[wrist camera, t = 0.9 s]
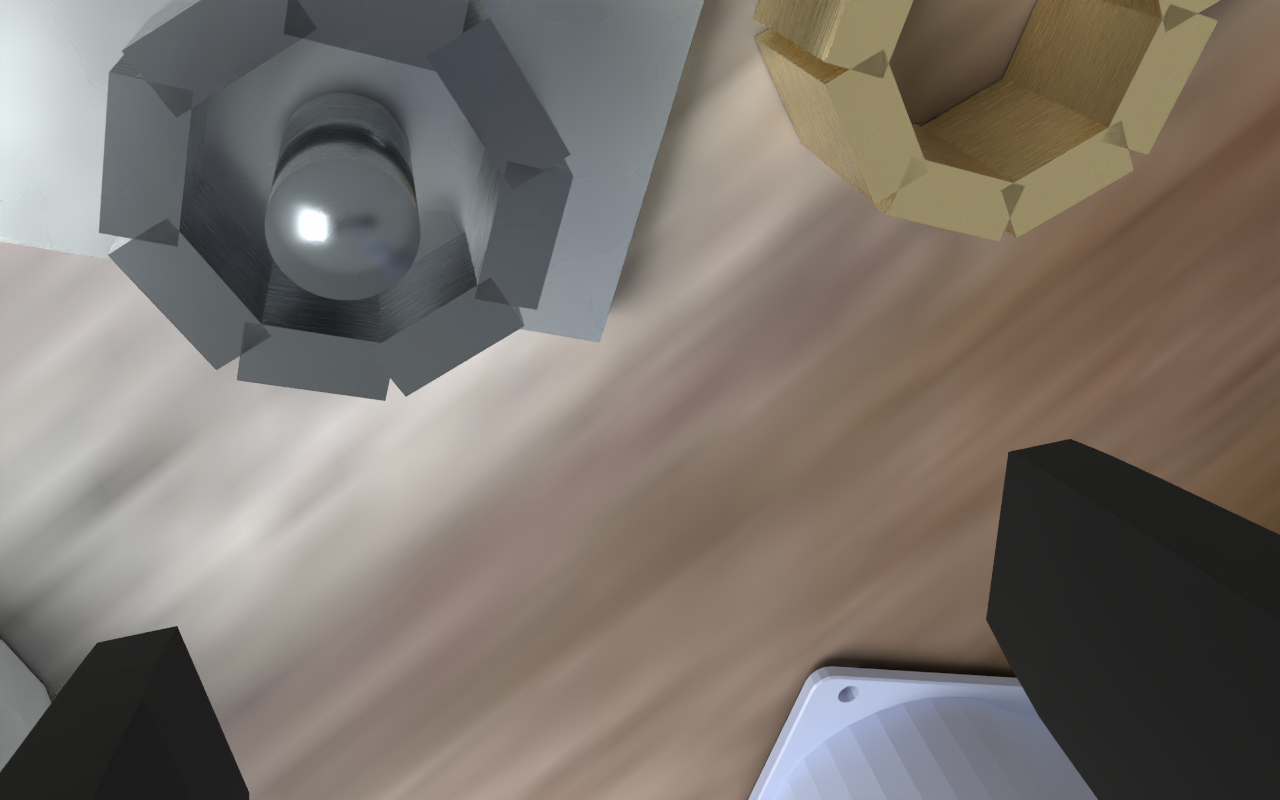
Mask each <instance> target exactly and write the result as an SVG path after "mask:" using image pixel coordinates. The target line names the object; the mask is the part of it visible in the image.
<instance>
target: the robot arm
mask: <svg viewBox="0 0 1280 800" xmlns="http://www.w3.org/2000/svg"><path fill="white" fill-rule="evenodd" d="M986 620H987V622H988V624H989V626H990V628H991V630H992V632H993V634H994V635H995V637H996V639H997V641H998V643H999V645H1000V647H1001V649H1002V651H1003V653H1004V655H1005V656H1006V658H1007V660H1008V662H1009V664H1010V666H1011V668H1012V670H1013V672H1014V674H1015V675H1016V677H1017V678H1010V677H994V676H978V675H962V674H946V673H930V672H914V671H898V670H882V669H866V668H850V667H834V666H830V667H823V668H820V669H818V670H816V671H815V672H813V673H812V674H811V675H810V676H809V677H808V679H807V680H806V682H805V684H804V686H803V688H802V690H801V692H800V694H799V696H798V698H797V700H796V702H795V704H794V706H793V709H792V711H791V713H790V715H789V717H788V719H787V721H786V723H785V725H784V727H783V729H782V731H781V733H780V735H779V737H778V739H777V742H776V744H775V746H774V748H773V750H772V752H771V754H770V756H769V758H768V760H767V762H766V764H765V766H764V768H763V770H762V773H761V775H760V777H759V779H758V781H757V783H756V785H755V787H754V789H753V791H752V793H751V795H750V797H749V799H748V800H1280V535H1279V534H1277V533H1275V532H1272V531H1270V530H1268V529H1266V528H1264V527H1262V526H1260V525H1258V524H1255V523H1253V522H1251V521H1249V520H1247V519H1245V518H1243V517H1241V516H1238V515H1236V514H1234V513H1232V512H1230V511H1228V510H1226V509H1224V508H1222V507H1220V506H1217V505H1215V504H1213V503H1211V502H1209V501H1207V500H1205V499H1203V498H1201V497H1199V496H1196V495H1194V494H1192V493H1190V492H1188V491H1186V490H1184V489H1182V488H1180V487H1177V486H1175V485H1173V484H1171V483H1169V482H1167V481H1165V480H1163V479H1161V478H1158V477H1156V476H1154V475H1152V474H1150V473H1148V472H1146V471H1143V470H1141V469H1139V468H1137V467H1135V466H1133V465H1130V464H1128V463H1126V462H1124V461H1122V460H1119V459H1117V458H1115V457H1113V456H1110V455H1108V454H1106V453H1103V452H1101V451H1099V450H1097V449H1094V448H1092V447H1089V446H1087V445H1084V444H1082V443H1079V442H1077V441H1074V440H1072V439H1068V440H1063V441H1058V442H1054V443H1049V444H1044V445H1039V446H1035V447H1030V448H1025V449H1020V450H1016V451H1011V452H1008V460H1007V467H1006V475H1005V482H1004V490H1003V497H1002V505H1001V512H1000V520H999V527H998V535H997V542H996V550H995V557H994V565H993V573H992V580H991V588H990V595H989V603H988V610H987V618H986ZM846 687H847V688H846ZM844 688H845V689H844ZM0 800H249V791H248V789H247V787H246V784H245V782H244V780H243V777H242V775H241V773H240V770H239V768H238V766H237V763H236V761H235V759H234V756H233V754H232V752H231V750H230V747H229V745H228V743H227V740H226V738H225V736H224V733H223V731H222V729H221V726H220V724H219V722H218V719H217V717H216V715H215V713H214V710H213V708H212V706H211V703H210V701H209V699H208V696H207V694H206V692H205V689H204V687H203V685H202V682H201V680H200V678H199V675H198V673H197V671H196V669H195V666H194V664H193V662H192V659H191V657H190V655H189V652H188V650H187V648H186V645H185V643H184V641H183V638H182V636H181V634H180V632H179V629H178V627H177V626H175V627H170V628H166V629H161V630H156V631H151V632H146V633H142V634H137V635H132V636H127V637H123V638H118V639H113V640H108V641H104V642H99V643H97V644H96V645H95V646H94V648H93V649H92V650H91V652H90V653H89V654H88V655H87V657H86V658H85V659H84V661H83V662H82V663H81V664H80V666H79V667H78V668H77V670H76V671H75V672H74V674H73V675H72V676H71V678H70V679H69V680H68V682H67V683H66V684H65V686H64V687H63V688H62V690H61V691H60V692H59V694H58V695H57V696H56V698H55V699H54V700H53V702H52V703H51V704H50V706H49V707H48V708H47V710H46V711H45V712H44V714H43V715H42V716H41V718H40V719H39V720H38V722H37V723H36V724H35V726H34V727H33V729H32V730H31V731H30V733H29V734H28V735H27V737H26V738H25V739H24V741H23V742H22V743H21V745H20V746H19V747H18V749H17V750H16V751H15V753H14V754H13V755H12V757H11V758H10V759H9V761H8V762H7V764H6V765H5V766H4V768H3V769H2V770H1V772H0Z"/></svg>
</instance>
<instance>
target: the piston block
mask: <svg viewBox="0 0 1280 800" xmlns="http://www.w3.org/2000/svg"><path fill="white" fill-rule="evenodd" d="M703 3H704V0H0V241H2V242H8V243H14V244H20V245H26V246H32V247H38V248H44V249H50V250H55V251H61V252H67V253H73V254H79V255H85V256H91V257H97V258H103V259H109V260H113V261H114V262H115V263H116V264H117V266H118V267H119V268H120V269H121V270H122V271H123V272H124V273H125V274H126V275H127V276H128V277H129V278H130V279H131V280H132V281H133V282H134V283H135V285H136V286H137V287H138V288H139V289H140V290H141V291H142V292H143V293H144V294H145V295H146V296H147V297H148V298H149V299H150V300H151V301H152V303H153V304H154V305H155V306H156V307H157V308H158V309H159V310H160V311H161V312H162V313H163V314H164V315H165V316H166V317H167V318H168V319H169V320H170V322H171V323H172V324H173V325H174V326H175V327H176V328H177V329H178V330H179V331H180V332H181V333H182V334H183V335H184V336H185V337H186V338H187V340H188V341H189V342H190V343H191V344H192V345H193V346H194V347H195V348H196V349H197V350H198V351H199V352H200V353H201V354H202V355H203V356H204V357H205V359H206V360H207V361H208V362H209V363H210V364H211V365H212V366H213V367H214V368H215V369H216V370H217V369H219V368H221V367H222V366H224V365H225V364H227V363H229V362H230V361H232V360H234V359H235V358H237V357H239V356H240V360H239V368H238V375H237V380H239V381H246V382H254V383H261V384H268V385H275V386H282V387H290V388H297V389H304V390H311V391H319V392H326V393H333V394H340V395H347V396H355V397H362V398H369V399H376V400H384V401H385V399H386V394H387V390H388V385H389V380H390V378H391V379H392V380H393V382H394V383H395V384H396V385H397V387H398V388H399V389H400V390H401V391H402V393H403V394H404V395H405V396H408V395H410V394H411V393H413V392H415V391H416V390H418V389H420V388H421V387H423V386H425V385H426V384H428V383H430V382H431V381H433V380H435V379H436V378H438V377H440V376H441V375H443V374H445V373H446V372H448V371H450V370H451V369H453V368H455V367H456V366H458V365H460V364H462V363H463V362H465V361H467V360H468V359H470V358H472V357H473V356H475V355H477V354H478V353H480V352H482V351H483V350H485V349H487V348H488V347H490V346H492V345H493V344H495V343H497V342H498V341H500V340H502V339H503V338H505V337H507V336H508V335H510V334H512V333H513V332H515V331H517V330H518V329H524V330H530V331H536V332H542V333H548V334H554V335H559V336H565V337H571V338H577V339H583V340H589V341H595V342H600V339H601V336H602V333H603V329H604V326H605V323H606V320H607V316H608V313H609V310H610V307H611V303H612V300H613V297H614V294H615V290H616V287H617V284H618V281H619V277H620V274H621V271H622V267H623V264H624V261H625V258H626V254H627V251H628V248H629V245H630V241H631V238H632V235H633V232H634V228H635V225H636V222H637V219H638V215H639V212H640V209H641V205H642V202H643V199H644V196H645V192H646V189H647V186H648V183H649V179H650V176H651V173H652V170H653V166H654V163H655V160H656V157H657V153H658V150H659V147H660V143H661V140H662V137H663V134H664V130H665V127H666V124H667V121H668V117H669V114H670V111H671V108H672V104H673V101H674V98H675V95H676V91H677V88H678V85H679V81H680V78H681V75H682V72H683V68H684V65H685V62H686V59H687V55H688V52H689V49H690V46H691V42H692V39H693V36H694V33H695V29H696V26H697V23H698V19H699V16H700V13H701V10H702V6H703Z"/></svg>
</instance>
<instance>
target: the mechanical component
mask: <svg viewBox="0 0 1280 800" xmlns="http://www.w3.org/2000/svg"><path fill="white" fill-rule="evenodd" d="M50 704H51V701H50V698H49V696H48V693H47V691H46V688H45V686H44V685H43V684H42V683H41V682H40V681H39V680H38V679H37V678H36V677H35V676H34V674H33V673H32V672H31V671H30V670H29V669H28V668H27V667H26V666H25V665H24V664H23V662H22V661H21V660H20V659H19V658H18V657H17V656H16V655H15V654H14V653H13V651H12V650H11V649H10V648H9V647H8V646H7V645H6V644H5V643H4V642H3V641H2V640H1V639H0V772H1V770H2V769H3V768H4V766H5V765H6V764H7V762H8V761H9V759H10V758H11V757H12V755H13V754H14V753H15V751H16V750H17V749H18V747H19V746H20V745H21V743H22V742H23V741H24V739H25V738H26V737H27V735H28V734H29V733H30V731H31V730H32V729H33V727H34V726H35V724H36V723H37V722H38V720H39V719H40V718H41V716H42V715H43V714H44V712H45V711H46V710H47V708H48V707H49V706H50Z"/></svg>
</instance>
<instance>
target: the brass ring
mask: <svg viewBox="0 0 1280 800" xmlns="http://www.w3.org/2000/svg"><path fill="white" fill-rule="evenodd" d="M1218 1H1220V0H1038V1H1037V3H1036V5H1035V7H1034V10H1033V12H1032V14H1031V16H1030V19H1029V21H1028V23H1027V25H1026V28H1025V30H1024V32H1023V34H1022V37H1021V39H1020V41H1019V43H1018V46H1017V48H1016V50H1015V52H1014V55H1013V57H1012V59H1011V61H1010V64H1009V66H1008V68H1007V70H1006V73H1005V75H1004V77H1003V78H1002V79H1001V80H999V81H997V82H996V83H994V84H992V85H991V86H989V87H987V88H985V89H984V90H982V91H980V92H979V93H977V94H975V95H974V96H972V97H970V98H969V99H967V100H965V101H964V102H962V103H960V104H959V105H957V106H955V107H953V108H952V109H950V110H948V111H947V112H945V113H943V114H942V115H940V116H938V117H937V118H935V119H933V120H932V121H930V122H928V123H927V124H925V125H923V126H920V125H917V124H913V123H911V122H910V119H909V116H908V114H907V111H906V108H905V105H904V103H903V100H902V97H901V95H900V92H899V89H898V86H897V84H896V81H895V78H894V76H893V73H892V70H891V68H890V65H889V62H890V59H891V56H892V54H893V51H894V49H895V46H896V44H897V41H898V39H899V36H900V34H901V31H902V28H903V26H904V23H905V21H906V18H907V16H908V13H909V11H910V8H911V6H912V3H913V0H759V3H758V6H757V9H756V12H755V16H754V19H756V20H757V21H759V22H761V23H762V24H764V25H766V26H767V27H769V29H767V30H766V31H764V32H762V33H761V34H759V35H758V36H756V37H754V38H755V40H756V43H757V45H758V47H759V49H760V52H761V54H762V56H763V58H764V61H765V63H766V65H767V67H768V70H769V72H770V74H771V76H772V79H773V81H774V83H775V85H776V88H777V90H778V92H779V94H780V97H781V99H782V101H783V103H784V106H785V108H786V110H787V112H788V115H789V117H790V119H791V121H792V124H793V126H794V128H795V131H796V133H797V135H798V137H799V140H800V142H801V143H802V144H803V145H804V146H805V147H806V148H808V149H809V150H810V151H811V152H812V153H813V154H815V155H816V156H817V157H818V158H819V159H821V160H822V161H823V162H824V163H825V164H827V165H828V166H829V167H830V168H831V169H833V170H834V171H835V172H836V173H837V174H839V175H840V176H841V177H842V178H843V179H845V180H846V181H847V182H848V183H849V184H851V185H852V186H853V187H854V188H855V189H857V190H858V191H859V192H860V193H861V194H863V195H864V196H865V197H866V198H867V199H869V200H870V201H871V202H872V203H873V204H874V205H876V206H877V207H878V208H879V209H880V210H882V211H883V212H884V213H885V214H886V215H888V216H892V217H897V218H901V219H905V220H909V221H914V222H918V223H922V224H926V225H931V226H935V227H939V228H943V229H948V230H952V231H956V232H960V233H965V234H969V235H973V236H977V237H982V238H986V239H990V240H994V241H999V240H1000V238H1001V236H1002V234H1003V232H1004V230H1006V231H1007V232H1009V233H1010V234H1011V235H1013V236H1014V237H1016V238H1018V237H1020V236H1021V235H1023V234H1025V233H1027V232H1028V231H1030V230H1032V229H1033V228H1035V227H1037V226H1039V225H1040V224H1042V223H1044V222H1045V221H1047V220H1049V219H1051V218H1052V217H1054V216H1056V215H1058V214H1059V213H1061V212H1063V211H1064V210H1066V209H1068V208H1070V207H1071V206H1073V205H1075V204H1076V203H1078V202H1080V201H1082V200H1083V199H1085V198H1087V197H1089V196H1090V195H1092V194H1094V193H1095V192H1097V191H1099V190H1101V189H1102V188H1104V187H1106V186H1107V185H1109V184H1111V183H1113V182H1114V181H1116V180H1118V179H1120V178H1121V177H1123V176H1125V175H1126V174H1128V173H1130V172H1132V171H1133V166H1132V162H1131V158H1130V154H1129V149H1130V150H1133V151H1137V152H1140V153H1144V154H1147V155H1148V154H1149V152H1150V150H1151V148H1152V147H1153V145H1154V143H1155V141H1156V139H1157V137H1158V135H1159V133H1160V131H1161V129H1162V127H1163V125H1164V124H1165V122H1166V120H1167V118H1168V116H1169V114H1170V112H1171V110H1172V108H1173V106H1174V104H1175V103H1176V101H1177V99H1178V97H1179V95H1180V93H1181V91H1182V89H1183V87H1184V85H1185V83H1186V81H1187V80H1188V78H1189V76H1190V74H1191V72H1192V70H1193V68H1194V66H1195V64H1196V62H1197V60H1198V59H1199V57H1200V55H1201V53H1202V51H1203V49H1204V47H1205V45H1206V43H1207V41H1208V39H1209V37H1210V36H1211V34H1212V32H1213V30H1214V28H1215V26H1216V24H1217V22H1218V20H1215V19H1212V18H1209V17H1206V16H1204V15H1201V14H1198V13H1200V12H1201V11H1203V10H1205V9H1206V8H1208V7H1210V6H1212V5H1213V4H1215V3H1217V2H1218Z"/></svg>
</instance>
